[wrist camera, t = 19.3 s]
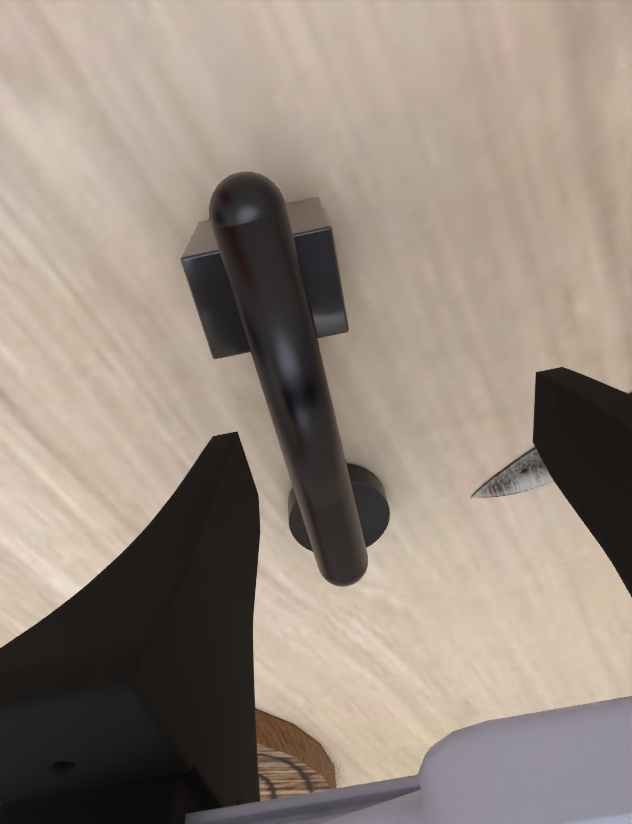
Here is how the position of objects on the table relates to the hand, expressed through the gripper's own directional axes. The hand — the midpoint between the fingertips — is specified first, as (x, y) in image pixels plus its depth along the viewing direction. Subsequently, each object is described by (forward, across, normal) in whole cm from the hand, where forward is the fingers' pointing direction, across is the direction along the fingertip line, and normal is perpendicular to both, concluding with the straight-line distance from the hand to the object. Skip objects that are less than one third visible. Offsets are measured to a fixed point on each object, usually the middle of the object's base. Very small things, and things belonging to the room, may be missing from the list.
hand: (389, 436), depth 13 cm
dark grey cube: (+8, +2, -3) cm, 8 cm away
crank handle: (+8, +2, +2) cm, 8 cm away
